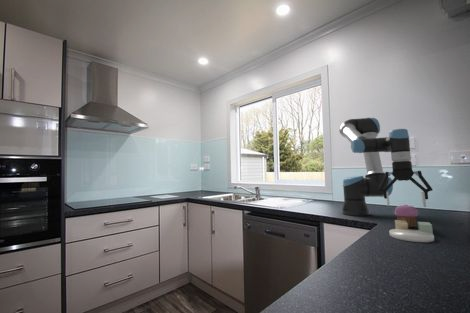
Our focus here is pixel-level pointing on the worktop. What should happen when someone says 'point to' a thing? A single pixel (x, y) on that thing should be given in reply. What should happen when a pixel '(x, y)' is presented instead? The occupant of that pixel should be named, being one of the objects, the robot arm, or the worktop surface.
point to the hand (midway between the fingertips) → (405, 206)
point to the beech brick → (401, 224)
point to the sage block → (425, 227)
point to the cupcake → (407, 214)
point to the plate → (411, 235)
